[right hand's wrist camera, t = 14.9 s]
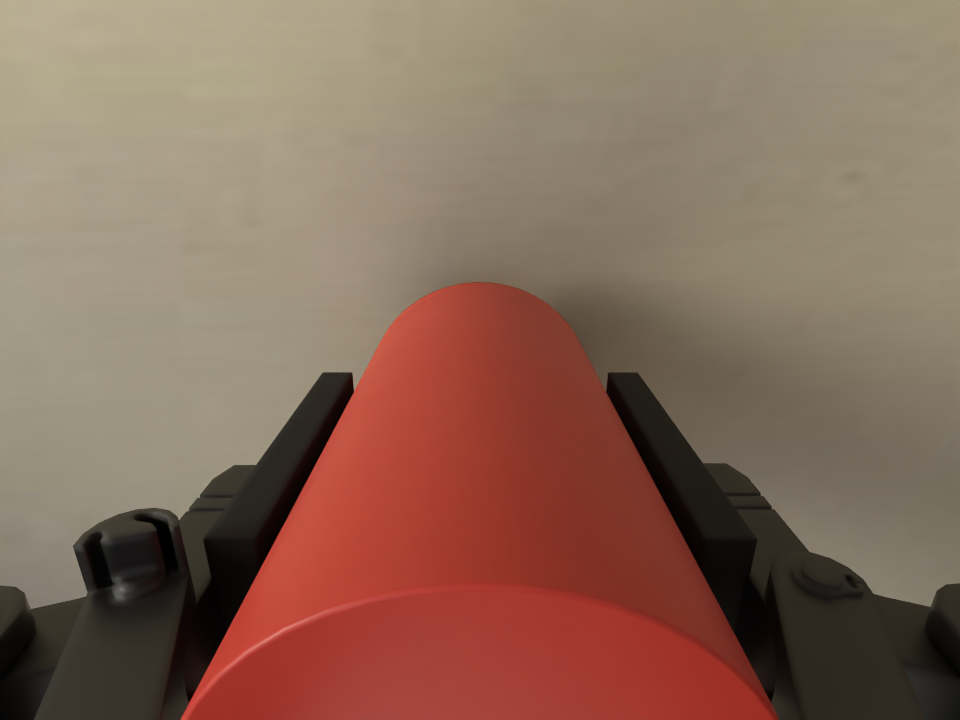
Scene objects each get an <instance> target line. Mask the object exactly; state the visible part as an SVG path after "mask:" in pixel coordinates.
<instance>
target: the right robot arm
mask: <svg viewBox="0 0 960 720" xmlns="http://www.w3.org/2000/svg"><path fill="white" fill-rule="evenodd" d="M353 393H354V387H353V376H352V373H322V374H321V376H320V377H319V379H318V380H317V381H316V383H315V384H314V386H313V387H312V388H311V390H310V391H309V393H308V394H307V395H306V397H305V398H304V399H303V401H302V402H301V404H300V405H299V406H298V408H297V409H296V411H295V412H294V413H293V415H292V416H291V418H290V419H289V420H288V422H287V423H286V425H285V426H284V427H283V429H282V430H281V431H280V433H279V434H278V436H277V437H276V438H275V440H274V441H273V443H272V444H271V445H270V447H269V448H268V450H267V451H266V452H265V454H264V455H263V456H262V458H261V459H260V461H259V462H258V463H257V465H234V466H232V467H231V468H229V469H228V470H226V471H225V472H223V473H222V474H220V475H219V476H217V477H215V478H214V479H213V480H212V481H211V482H210V484H209V485H208V486H207V487H206V488H205V490H204V491H203V492H202V493H201V494H200V498H197V499H196V501H195V502H194V503H193V504H192V505H191V507H190V508H189V512H186V513H185V514H184V515H183V516H182V518H181V519H180V520H178V517H177V516H176V515H175V514H173V513H172V512H171V511H169V510H164V509H158V508H149V509H137V510H133V511H130V512H126V513H122V514H118V515H116V516H114V517H111V518H109V519H107V520H105V521H102V522H100V523H98V524H97V525H95V526H94V527H92V528H91V529H90V530H88V531H87V532H85V533H84V534H83V535H82V536H81V537H80V538H79V539H78V541H77V542H76V543H75V544H74V545H73V548H74V551H75V554H76V557H77V560H78V563H79V567H80V570H81V573H82V576H83V579H84V582H85V585H86V589H87V592H88V594H87V596H86V597H83V598H79V599H75V600H71V601H66V602H62V603H57V604H52V605H48V606H43V607H39V608H34V609H30V607H29V604H28V601H27V599H26V596H25V593H24V592H22V591H21V590H19V589H18V588H16V587H10V586H0V720H181V718H182V716H183V714H184V712H185V710H186V708H187V706H188V704H189V703H190V701H191V699H192V697H193V695H194V693H195V691H196V689H197V687H198V686H199V684H200V682H201V680H202V678H203V676H204V674H205V672H206V670H207V669H208V667H209V665H210V663H211V661H212V659H213V657H214V655H215V653H216V652H217V650H218V648H219V646H220V644H221V642H222V640H223V638H224V636H225V635H226V633H227V631H228V629H229V627H230V625H231V623H232V621H233V619H234V618H235V616H236V614H237V612H238V610H239V608H240V606H241V604H242V602H243V601H244V599H245V597H246V595H247V593H248V591H249V589H250V587H251V585H252V584H253V582H254V580H255V578H256V576H257V574H258V572H259V570H260V568H261V567H262V565H263V563H264V561H265V559H266V557H267V555H268V553H269V552H270V550H271V548H272V546H273V544H274V542H275V540H276V538H277V536H278V535H279V533H280V531H281V529H282V527H283V525H284V523H285V521H286V519H287V518H288V516H289V514H290V512H291V510H292V508H293V506H294V504H295V502H296V501H297V499H298V497H299V495H300V493H301V491H302V489H303V487H304V485H305V484H306V482H307V480H308V478H309V476H310V474H311V472H312V470H313V468H314V467H315V465H316V463H317V461H318V459H319V457H320V455H321V453H322V451H323V450H324V448H325V446H326V444H327V442H328V440H329V438H330V436H331V434H332V433H333V431H334V429H335V427H336V425H337V423H338V421H339V419H340V417H341V416H342V414H343V412H344V410H345V408H346V406H347V404H348V402H349V400H350V399H351V397H352V395H353ZM606 393H607V395H608V396H609V398H610V400H611V402H612V404H613V406H614V408H615V410H616V412H617V413H618V415H619V417H620V419H621V421H622V423H623V425H624V427H625V428H626V430H627V432H628V434H629V436H630V438H631V440H632V442H633V444H634V445H635V447H636V449H637V451H638V453H639V455H640V457H641V459H642V461H643V462H644V464H645V466H646V468H647V470H648V472H649V474H650V476H651V478H652V479H653V481H654V483H655V485H656V487H657V489H658V491H659V493H660V494H661V496H662V498H663V500H664V502H665V504H666V506H667V508H668V510H669V511H670V513H671V515H672V517H673V519H674V521H675V523H676V525H677V527H678V528H679V530H680V532H681V534H682V536H683V538H684V540H685V542H686V544H687V545H688V547H689V549H690V551H691V553H692V555H693V557H694V559H695V560H696V562H697V564H698V566H699V568H700V570H701V572H702V574H703V576H704V577H705V579H706V581H707V583H708V585H709V587H710V589H711V591H712V593H713V594H714V596H715V598H716V600H717V602H718V604H719V606H720V608H721V610H722V611H723V613H724V615H725V617H726V619H727V621H728V623H729V625H730V626H731V628H732V630H733V632H734V634H735V636H736V638H737V640H738V642H739V643H740V645H741V647H742V649H743V651H744V653H745V655H746V657H747V659H748V660H749V662H750V664H751V666H752V668H753V670H754V672H755V674H756V676H757V677H758V679H759V681H760V683H761V685H762V687H763V689H764V691H765V692H766V694H767V696H768V698H769V700H770V702H771V704H772V706H773V708H774V709H775V711H776V713H777V715H778V718H779V720H960V584H948V585H945V586H943V587H942V588H940V589H939V590H937V592H936V595H935V597H934V600H933V603H932V605H931V607H928V606H923V605H919V604H914V603H909V602H905V601H900V600H896V599H891V598H887V597H883V596H879V595H876V594H873V593H872V591H871V590H870V588H869V587H868V585H867V584H866V583H865V581H864V580H863V579H862V578H861V577H860V576H858V575H857V574H856V573H855V572H853V571H852V570H851V569H850V568H848V567H846V566H844V565H842V564H840V563H838V562H836V561H835V560H833V559H831V558H828V557H824V556H821V555H818V554H814V553H810V552H809V551H808V550H807V549H806V547H805V546H804V545H803V544H802V543H801V541H800V540H799V539H798V538H797V536H796V535H795V534H794V533H793V532H792V530H791V529H790V528H789V527H788V526H787V524H786V523H785V522H784V521H783V520H782V518H781V517H780V516H779V515H778V513H777V512H776V511H775V510H772V508H771V505H770V504H769V503H768V501H767V500H766V499H765V498H764V497H763V496H761V493H760V492H759V491H758V489H757V488H756V487H755V486H754V484H753V483H752V482H751V481H750V480H749V478H748V477H746V476H745V475H743V474H742V473H740V472H739V471H737V470H736V469H734V468H732V467H731V466H729V465H728V464H703V463H702V462H701V460H700V459H699V457H698V456H697V455H696V453H695V452H694V450H693V449H692V448H691V446H690V445H689V443H688V442H687V441H686V439H685V438H684V437H683V435H682V434H681V432H680V431H679V430H678V428H677V427H676V425H675V424H674V423H673V421H672V420H671V418H670V417H669V416H668V414H667V413H666V411H665V410H664V409H663V407H662V406H661V405H660V403H659V402H658V400H657V399H656V398H655V396H654V395H653V393H652V392H651V391H650V389H649V388H648V386H647V385H646V384H645V382H644V381H643V379H642V378H641V377H640V375H639V374H638V373H608V380H607V391H606Z"/></svg>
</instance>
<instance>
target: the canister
mask: <svg viewBox="0 0 960 720" xmlns="http://www.w3.org/2000/svg"><path fill="white" fill-rule="evenodd" d="M181 720H779V718H778V715H777V713H776V711H775V709H774V708H773V706H772V704H771V702H770V700H769V698H768V696H767V694H766V692H765V691H764V689H763V687H762V685H761V683H760V681H759V679H758V677H757V676H756V674H755V672H754V670H753V668H752V666H751V664H750V662H749V660H748V659H747V657H746V655H745V653H744V651H743V649H742V647H741V645H740V643H739V642H738V640H737V638H736V636H735V634H734V632H733V630H732V628H731V626H730V625H729V623H728V621H727V619H726V617H725V615H724V613H723V611H722V610H721V608H720V606H719V604H718V602H717V600H716V598H715V596H714V594H713V593H712V591H711V589H710V587H709V585H708V583H707V581H706V579H705V577H704V576H703V574H702V572H701V570H700V568H699V566H698V564H697V562H696V560H695V559H694V557H693V555H692V553H691V551H690V549H689V547H688V545H687V544H686V542H685V540H684V538H683V536H682V534H681V532H680V530H679V528H678V527H677V525H676V523H675V521H674V519H673V517H672V515H671V513H670V511H669V510H668V508H667V506H666V504H665V502H664V500H663V498H662V496H661V494H660V493H659V491H658V489H657V487H656V485H655V483H654V481H653V479H652V478H651V476H650V474H649V472H648V470H647V468H646V466H645V464H644V462H643V461H642V459H641V457H640V455H639V453H638V451H637V449H636V447H635V445H634V444H633V442H632V440H631V438H630V436H629V434H628V432H627V430H626V428H625V427H624V425H623V423H622V421H621V419H620V417H619V415H618V413H617V412H616V410H615V408H614V406H613V404H612V402H611V400H610V398H609V396H608V395H607V393H606V391H605V389H604V387H603V385H602V383H601V381H600V379H599V378H598V376H597V374H596V372H595V370H594V368H593V366H592V364H591V362H590V361H589V359H588V357H587V355H586V353H585V351H584V349H583V347H582V346H581V344H580V342H579V340H578V338H577V336H576V334H575V333H574V331H573V330H572V329H571V327H570V326H569V324H568V323H567V322H566V321H565V320H564V319H563V317H562V316H561V315H560V314H559V313H558V312H557V311H555V310H554V309H553V308H552V307H551V306H549V305H548V304H547V303H545V302H544V301H542V300H541V299H539V298H537V297H536V296H534V295H532V294H529V293H527V292H525V291H523V290H520V289H517V288H514V287H511V286H507V285H501V284H495V283H480V282H475V283H465V284H458V285H454V286H450V287H446V288H443V289H440V290H438V291H435V292H432V293H430V294H429V295H427V296H425V297H423V298H421V299H419V300H418V301H416V302H415V303H414V304H412V305H411V306H409V307H408V308H407V309H406V310H405V311H404V312H403V313H402V314H400V315H399V316H398V317H397V318H396V320H395V321H394V322H393V323H392V325H391V326H390V327H389V328H388V330H387V332H386V333H385V335H384V337H383V338H382V340H381V342H380V344H379V346H378V348H377V349H376V351H375V353H374V355H373V357H372V359H371V361H370V363H369V365H368V366H367V368H366V370H365V372H364V374H363V376H362V378H361V380H360V382H359V383H358V385H357V387H356V389H355V391H354V393H353V395H352V397H351V399H350V400H349V402H348V404H347V406H346V408H345V410H344V412H343V414H342V416H341V417H340V419H339V421H338V423H337V425H336V427H335V429H334V431H333V433H332V434H331V436H330V438H329V440H328V442H327V444H326V446H325V448H324V450H323V451H322V453H321V455H320V457H319V459H318V461H317V463H316V465H315V467H314V468H313V470H312V472H311V474H310V476H309V478H308V480H307V482H306V484H305V485H304V487H303V489H302V491H301V493H300V495H299V497H298V499H297V501H296V502H295V504H294V506H293V508H292V510H291V512H290V514H289V516H288V518H287V519H286V521H285V523H284V525H283V527H282V529H281V531H280V533H279V535H278V536H277V538H276V540H275V542H274V544H273V546H272V548H271V550H270V552H269V553H268V555H267V557H266V559H265V561H264V563H263V565H262V567H261V568H260V570H259V572H258V574H257V576H256V578H255V580H254V582H253V584H252V585H251V587H250V589H249V591H248V593H247V595H246V597H245V599H244V601H243V602H242V604H241V606H240V608H239V610H238V612H237V614H236V616H235V618H234V619H233V621H232V623H231V625H230V627H229V629H228V631H227V633H226V635H225V636H224V638H223V640H222V642H221V644H220V646H219V648H218V650H217V652H216V653H215V655H214V657H213V659H212V661H211V663H210V665H209V667H208V669H207V670H206V672H205V674H204V676H203V678H202V680H201V682H200V684H199V686H198V687H197V689H196V691H195V693H194V695H193V697H192V699H191V701H190V703H189V704H188V706H187V708H186V710H185V712H184V714H183V716H182V718H181Z"/></svg>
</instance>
